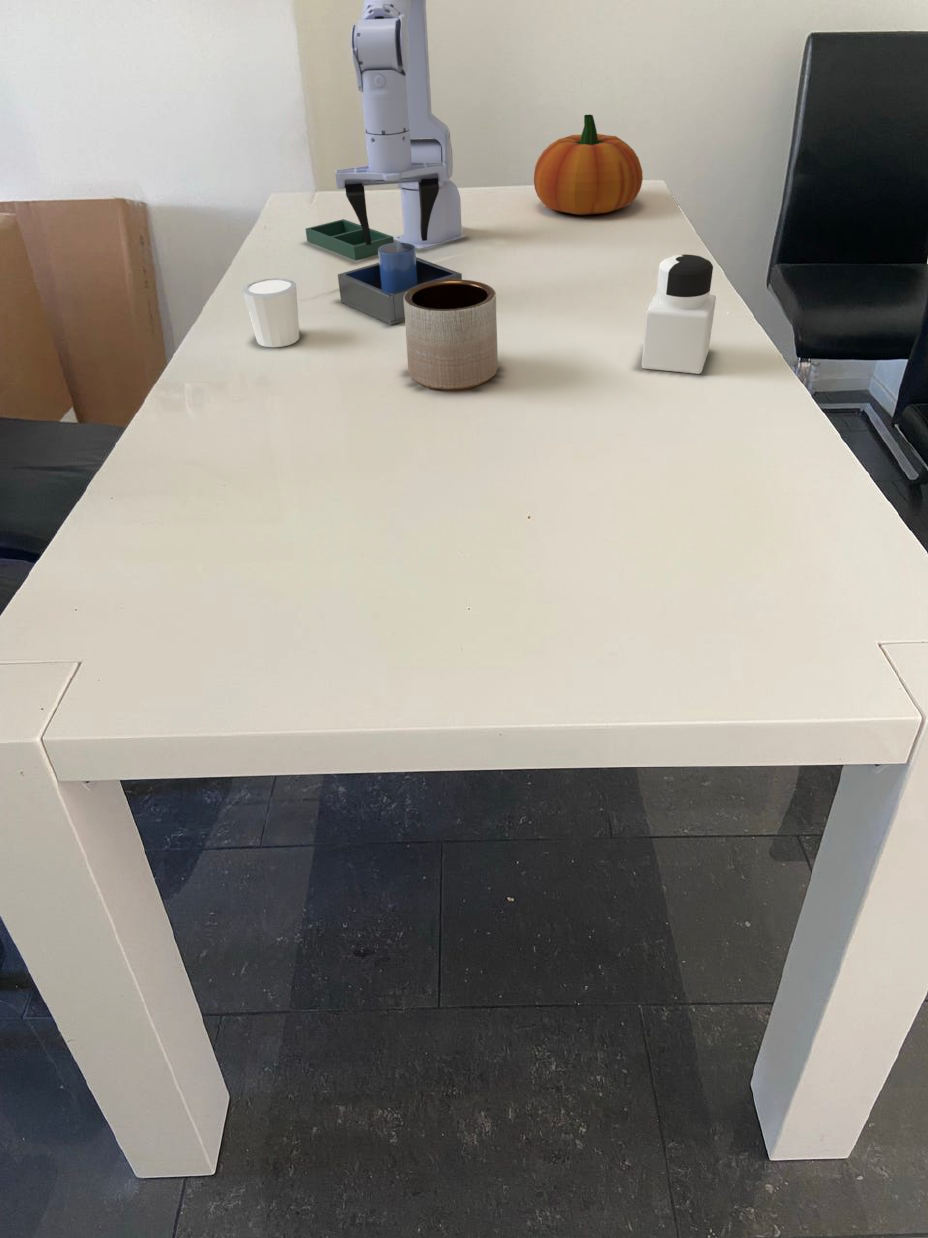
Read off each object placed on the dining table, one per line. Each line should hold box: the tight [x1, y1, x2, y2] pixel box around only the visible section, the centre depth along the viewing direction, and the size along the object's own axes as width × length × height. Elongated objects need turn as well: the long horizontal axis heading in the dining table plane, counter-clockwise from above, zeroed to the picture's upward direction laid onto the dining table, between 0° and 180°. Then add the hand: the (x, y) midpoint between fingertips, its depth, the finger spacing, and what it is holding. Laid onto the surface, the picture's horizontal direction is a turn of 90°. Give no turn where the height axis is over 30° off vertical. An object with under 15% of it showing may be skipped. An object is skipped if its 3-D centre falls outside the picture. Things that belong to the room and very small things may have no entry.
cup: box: [377, 242, 418, 293], centre depth 126 cm, size 5×5×7 cm
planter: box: [404, 279, 499, 391], centre depth 106 cm, size 11×11×10 cm
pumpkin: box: [533, 114, 644, 216], centre depth 159 cm, size 19×19×15 cm
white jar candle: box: [242, 277, 300, 348], centre depth 118 cm, size 7×7×7 cm
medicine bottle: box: [641, 254, 717, 375], centre depth 106 cm, size 7×7×12 cm
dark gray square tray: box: [337, 256, 463, 326], centre depth 128 cm, size 13×13×4 cm
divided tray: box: [305, 218, 395, 261], centre depth 149 cm, size 8×15×2 cm, turn 39°
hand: (396, 240), depth 124 cm, fingers open, 7 cm apart
